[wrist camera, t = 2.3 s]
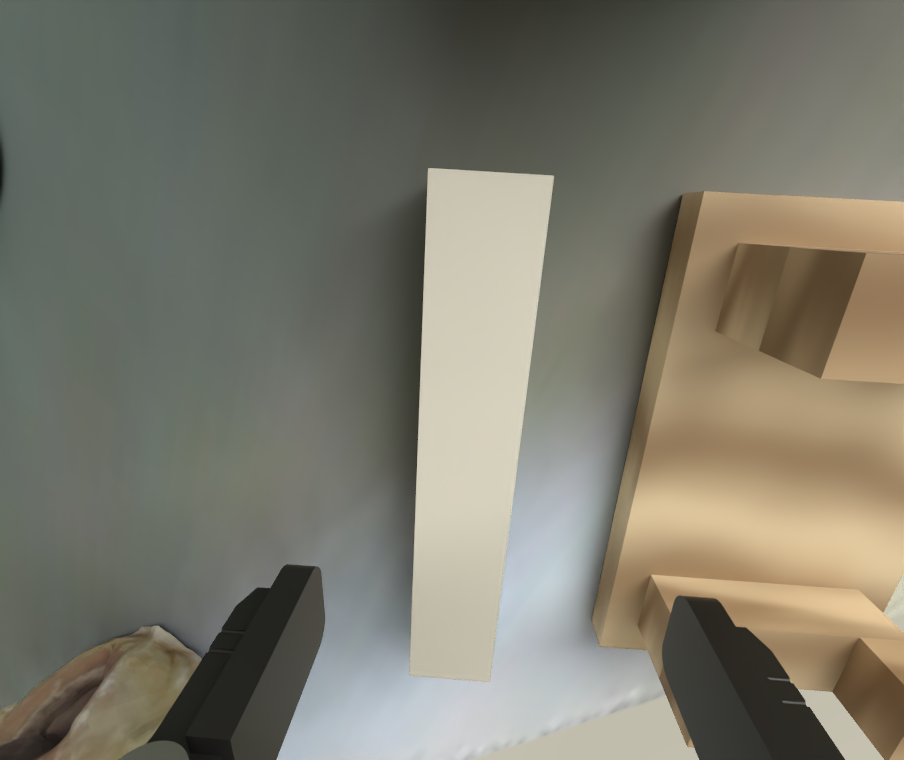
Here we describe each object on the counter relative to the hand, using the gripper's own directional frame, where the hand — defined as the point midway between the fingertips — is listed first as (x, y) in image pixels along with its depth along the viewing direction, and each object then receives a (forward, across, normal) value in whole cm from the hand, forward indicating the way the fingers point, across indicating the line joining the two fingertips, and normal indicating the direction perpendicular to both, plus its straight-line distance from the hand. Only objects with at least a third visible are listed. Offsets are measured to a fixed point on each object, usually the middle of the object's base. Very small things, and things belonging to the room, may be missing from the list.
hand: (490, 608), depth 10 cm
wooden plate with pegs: (+10, -12, +1) cm, 16 cm away
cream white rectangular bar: (+10, +1, 0) cm, 10 cm away
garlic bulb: (+9, +18, +16) cm, 26 cm away
